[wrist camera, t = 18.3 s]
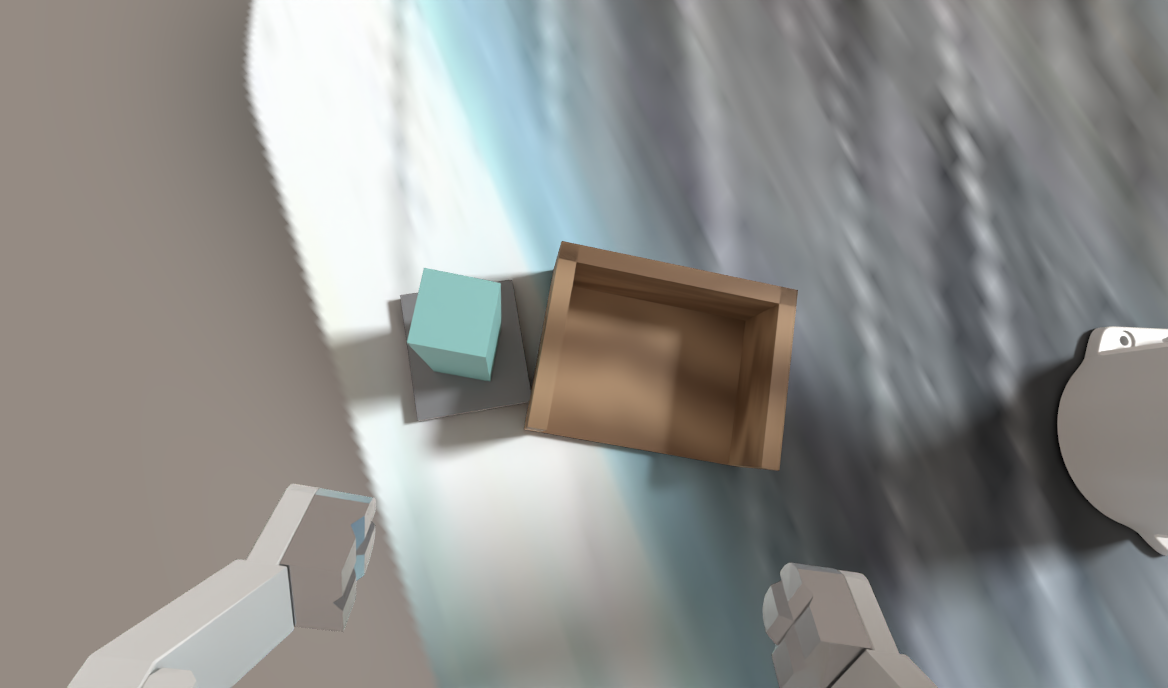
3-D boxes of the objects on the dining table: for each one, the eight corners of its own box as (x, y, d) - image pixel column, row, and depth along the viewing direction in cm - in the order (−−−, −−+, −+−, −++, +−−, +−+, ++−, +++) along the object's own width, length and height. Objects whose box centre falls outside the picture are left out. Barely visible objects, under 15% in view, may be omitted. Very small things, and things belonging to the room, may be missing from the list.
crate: (739, 466, 44) (779, 470, 38) (523, 429, 43) (527, 426, 36) (757, 311, 47) (797, 290, 40) (553, 269, 45) (561, 240, 39)
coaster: (511, 283, 44) (512, 279, 43) (531, 401, 43) (532, 400, 42) (402, 298, 43) (400, 295, 42) (419, 421, 42) (417, 420, 41)
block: (490, 381, 42) (485, 357, 30) (433, 371, 42) (406, 342, 30) (501, 327, 43) (500, 283, 31) (445, 316, 42) (424, 267, 31)
